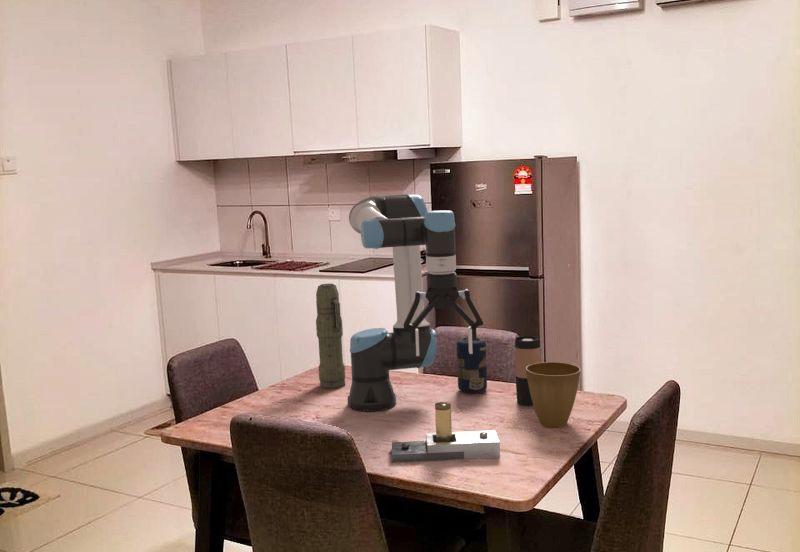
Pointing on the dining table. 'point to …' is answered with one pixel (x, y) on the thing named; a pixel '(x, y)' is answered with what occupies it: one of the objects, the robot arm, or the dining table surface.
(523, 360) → the travel mug
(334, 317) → the thermos
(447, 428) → the pin
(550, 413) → the plant pot
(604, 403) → the dining table surface
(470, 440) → the door bolt
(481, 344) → the canister
